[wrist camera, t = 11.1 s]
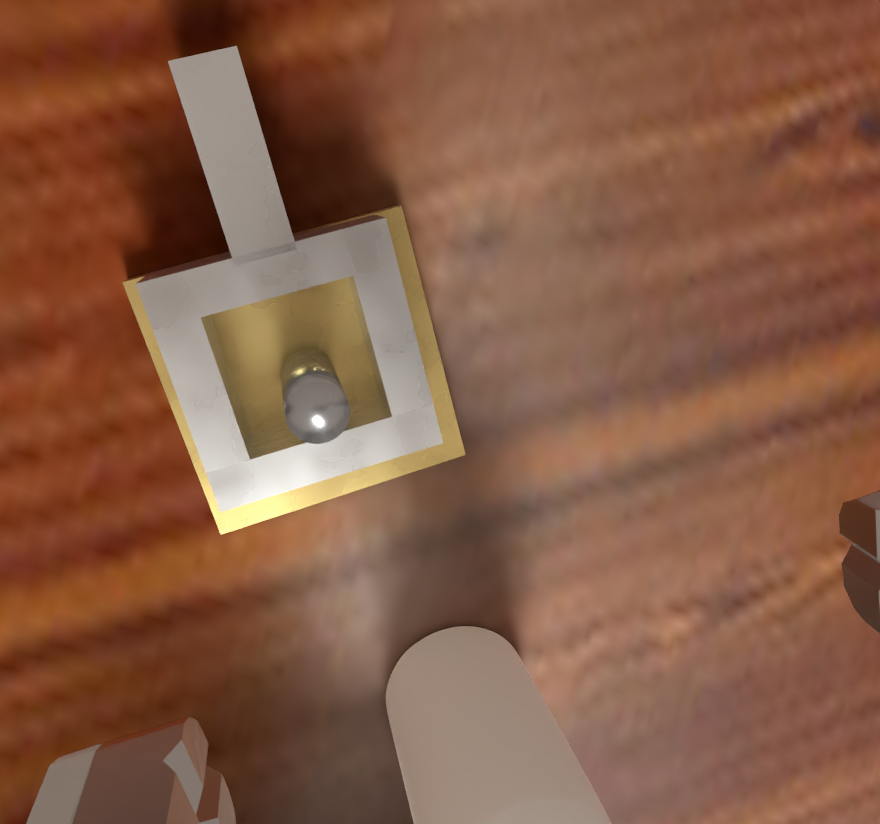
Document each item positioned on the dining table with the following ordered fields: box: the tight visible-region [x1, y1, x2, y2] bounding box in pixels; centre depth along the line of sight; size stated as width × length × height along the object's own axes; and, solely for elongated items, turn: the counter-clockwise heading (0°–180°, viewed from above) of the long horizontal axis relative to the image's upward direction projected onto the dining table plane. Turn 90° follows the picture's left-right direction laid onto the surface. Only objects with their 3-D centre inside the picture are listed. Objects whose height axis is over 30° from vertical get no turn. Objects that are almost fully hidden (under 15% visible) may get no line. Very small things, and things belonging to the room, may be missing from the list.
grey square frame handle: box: [136, 46, 443, 512], centre depth 26 cm, size 14×8×3 cm, turn 14°
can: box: [386, 626, 612, 824], centre depth 29 cm, size 6×6×12 cm
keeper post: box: [123, 205, 466, 534], centre depth 26 cm, size 10×10×6 cm
